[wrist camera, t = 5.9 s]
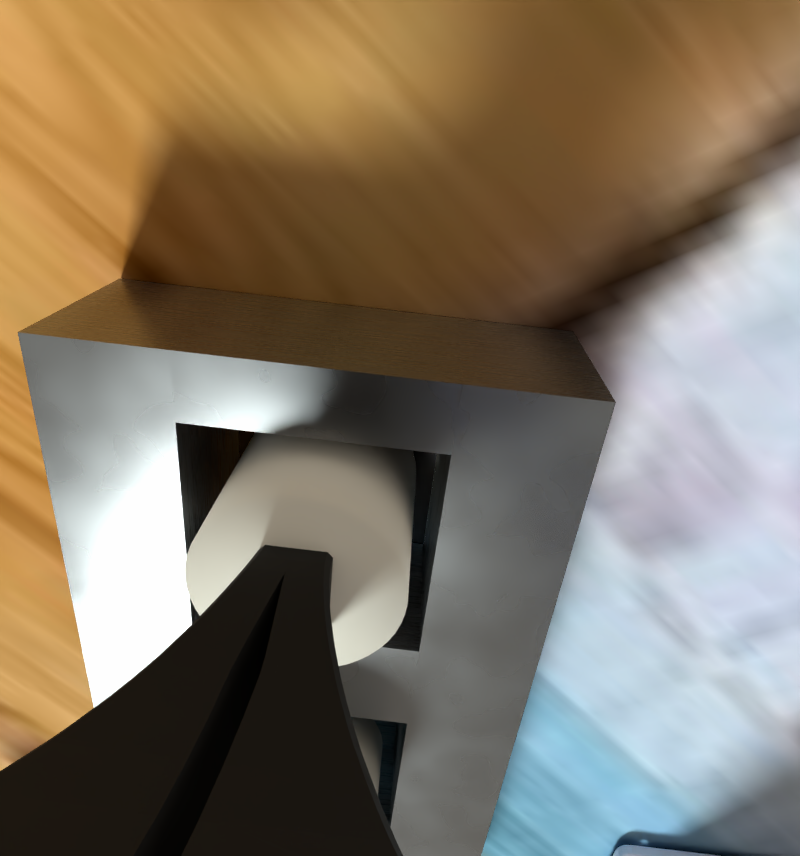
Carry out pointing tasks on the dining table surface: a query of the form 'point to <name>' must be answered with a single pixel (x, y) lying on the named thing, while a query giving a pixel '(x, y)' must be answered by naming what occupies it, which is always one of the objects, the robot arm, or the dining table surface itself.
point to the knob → (318, 529)
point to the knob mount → (343, 422)
